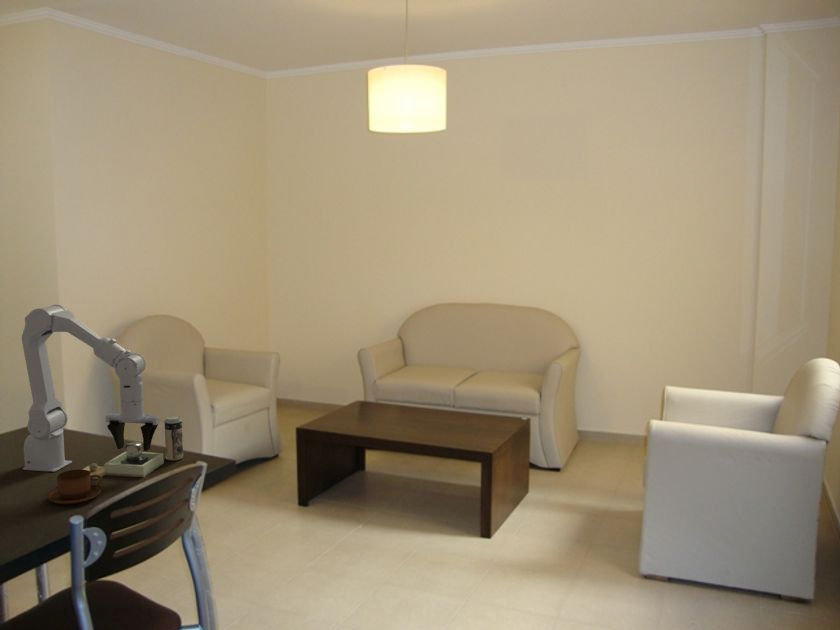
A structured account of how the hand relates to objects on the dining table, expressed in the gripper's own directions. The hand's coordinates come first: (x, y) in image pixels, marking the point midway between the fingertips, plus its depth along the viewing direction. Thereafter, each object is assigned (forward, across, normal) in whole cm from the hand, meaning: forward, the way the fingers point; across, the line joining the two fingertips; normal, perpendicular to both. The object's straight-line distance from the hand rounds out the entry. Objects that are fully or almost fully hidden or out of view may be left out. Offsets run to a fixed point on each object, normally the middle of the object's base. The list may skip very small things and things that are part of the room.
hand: (133, 448), depth 203 cm
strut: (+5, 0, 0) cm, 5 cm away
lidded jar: (+6, +7, +10) cm, 13 cm away
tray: (+6, 0, 0) cm, 6 cm away
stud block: (+6, -9, -5) cm, 12 cm away
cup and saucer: (+6, -4, -22) cm, 23 cm away
